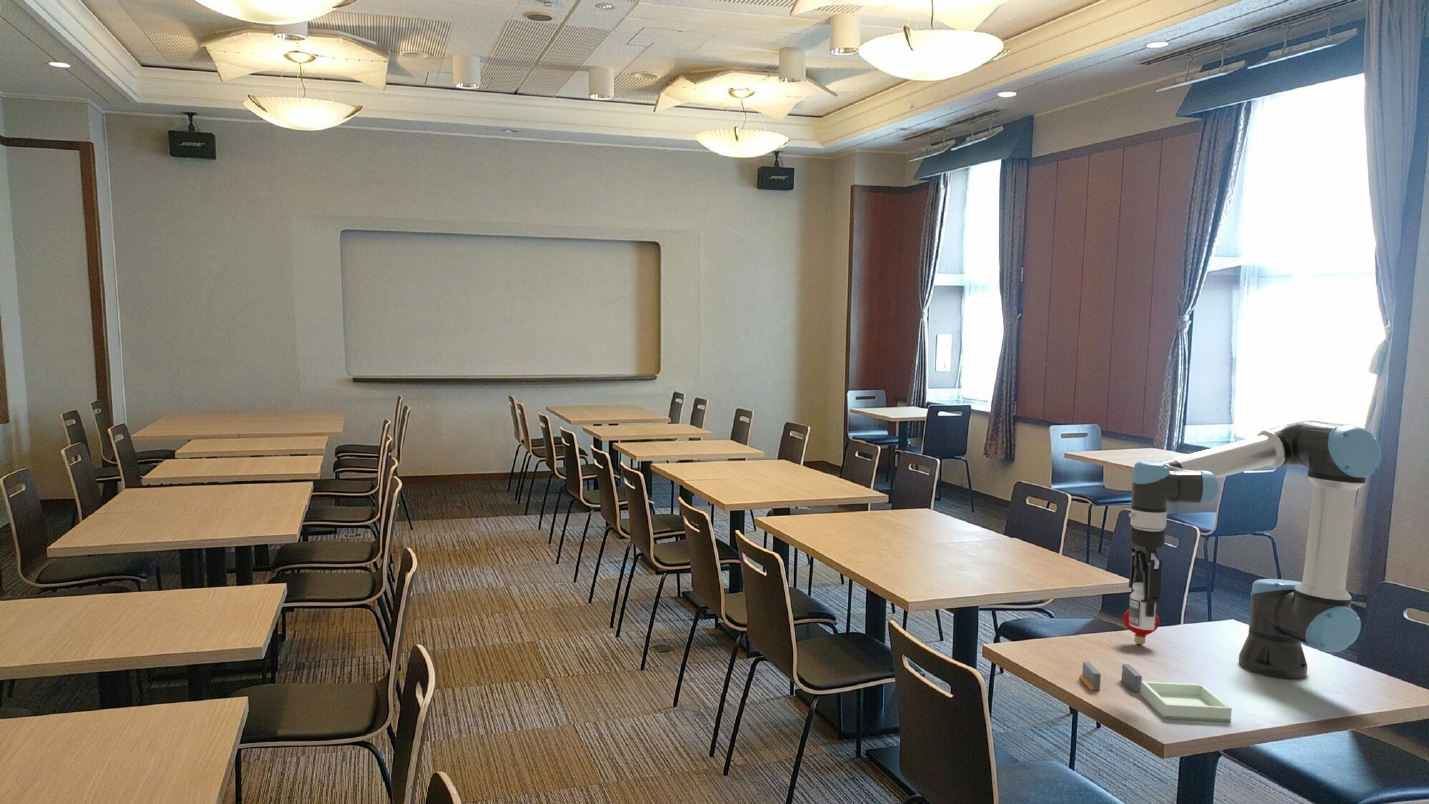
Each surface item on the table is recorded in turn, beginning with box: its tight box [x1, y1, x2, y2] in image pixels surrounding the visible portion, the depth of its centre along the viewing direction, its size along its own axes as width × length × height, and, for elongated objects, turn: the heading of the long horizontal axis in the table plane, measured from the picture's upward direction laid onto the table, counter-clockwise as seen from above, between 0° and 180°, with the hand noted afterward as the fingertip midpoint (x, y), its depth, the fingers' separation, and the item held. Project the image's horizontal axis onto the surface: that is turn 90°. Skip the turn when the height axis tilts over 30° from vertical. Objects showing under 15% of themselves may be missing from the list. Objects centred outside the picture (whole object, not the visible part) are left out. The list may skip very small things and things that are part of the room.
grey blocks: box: [1079, 661, 1143, 693], centre depth 223 cm, size 12×8×4 cm, turn 86°
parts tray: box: [1140, 681, 1232, 723], centre depth 211 cm, size 14×14×3 cm
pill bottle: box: [1128, 582, 1157, 629], centre depth 217 cm, size 6×6×10 cm
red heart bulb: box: [1122, 608, 1160, 646], centre depth 254 cm, size 9×7×10 cm
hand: (1142, 624), depth 218 cm, fingers closed on pill bottle, 6 cm apart
